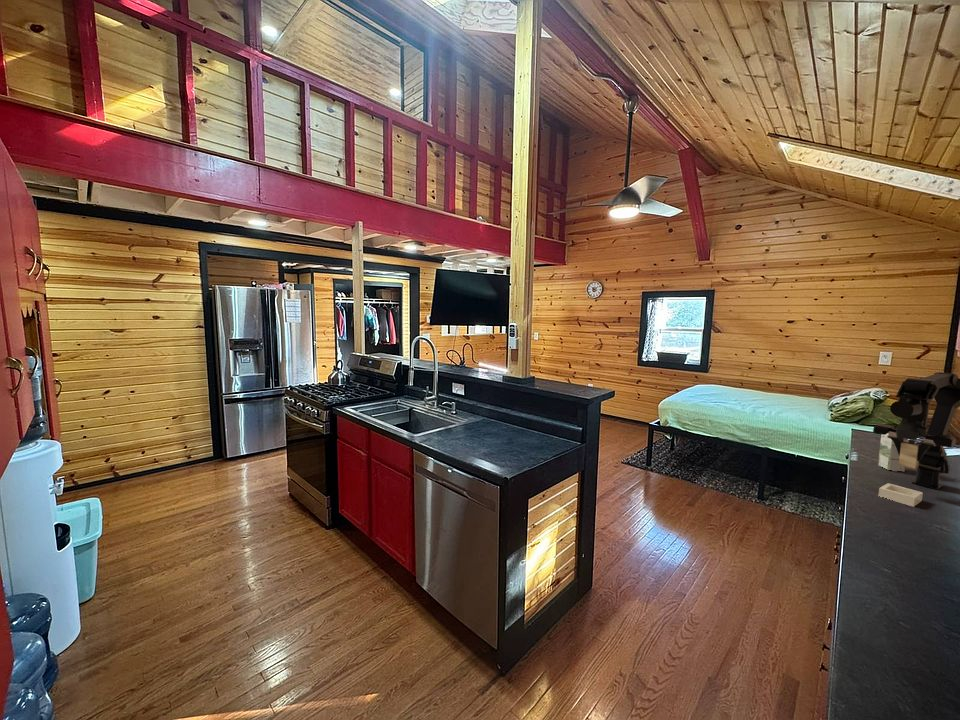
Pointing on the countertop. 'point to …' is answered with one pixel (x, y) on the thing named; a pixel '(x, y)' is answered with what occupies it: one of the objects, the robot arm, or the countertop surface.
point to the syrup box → (889, 454)
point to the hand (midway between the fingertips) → (909, 458)
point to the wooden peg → (909, 454)
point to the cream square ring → (900, 494)
